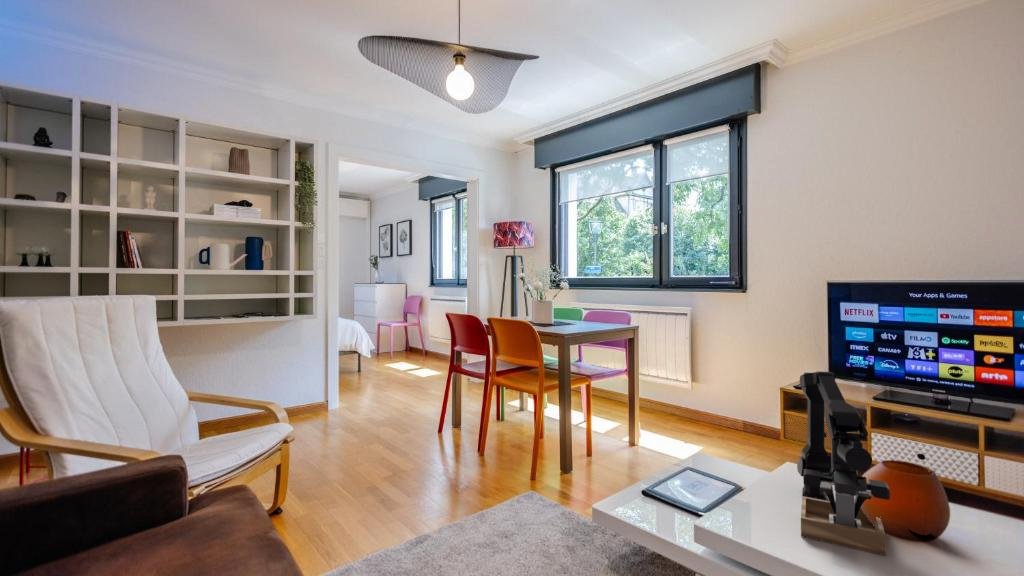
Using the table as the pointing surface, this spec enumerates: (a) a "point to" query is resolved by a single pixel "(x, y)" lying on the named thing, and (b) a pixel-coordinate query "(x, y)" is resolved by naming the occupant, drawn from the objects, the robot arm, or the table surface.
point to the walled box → (841, 528)
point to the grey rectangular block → (845, 509)
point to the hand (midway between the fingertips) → (844, 515)
